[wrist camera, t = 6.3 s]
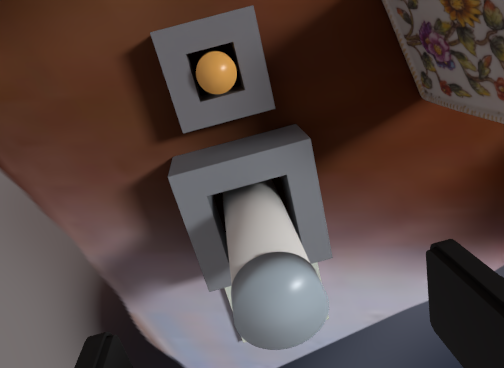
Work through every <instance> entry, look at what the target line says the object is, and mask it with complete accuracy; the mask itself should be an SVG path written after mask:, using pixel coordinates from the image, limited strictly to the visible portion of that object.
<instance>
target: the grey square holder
mask: <svg viewBox="0 0 504 368" xmlns="http://www.w3.org/2000/svg"><path fill="white" fill-rule="evenodd" d="M276 177H281V181H282V185H283V190H284V194H285V198H286V203H287V207H288V212H289V216H290V217H289V218H290V220H291V222H292V224H293V226H294V229H295V231H296V233H297V235H298V237H299V239H300V242H301V244H302V246H303V248H304V250H305V253H306V255H307V257H308V259H309V261H310V263H311V264H312V263H316V262H320V261H323V260H327V259H331V258H332V252H331V247H330V241H329V236H328V231H327V225H326V220H325V214H324V209H323V203H322V198H321V192H320V187H319V182H318V176H317V171H316V165H315V160H314V154H313V149H312V143H311V138H310V137H309V136H308V135H307V134H306V133H305V132H304V131H303V130H302V129H300V128H299V127H298V126H297V125H296V124H294V125H290V126H286V127H283V128H279V129H275V130H271V131H268V132H264V133H260V134H257V135H253V136H249V137H245V138H242V139H238V140H234V141H231V142H227V143H223V144H219V145H216V146H212V147H208V148H205V149H201V150H197V151H194V152H190V153H186V154H182V155H179V156H175V157H173V159H172V162H171V166H170V170H169V174H168V179H169V182H170V185H171V188H172V190H173V193H174V196H175V199H176V201H177V204H178V207H179V210H180V212H181V215H182V218H183V221H184V223H185V226H186V229H187V232H188V235H189V237H190V240H191V243H192V246H193V248H194V251H195V254H196V257H197V259H198V262H199V265H200V268H201V270H202V273H203V276H204V279H205V281H206V284H207V287H208V290H209V292H211V291H215V290H218V289H222V288H226V287H229V286H232V283H231V274H230V264H229V255H228V246H227V236H226V234H225V231H224V228H223V225H222V222H221V219H220V215H219V212H218V209H217V206H216V203H215V200H214V196H213V194H217V193H221V192H224V191H228V190H232V189H235V188H239V187H243V186H246V185H250V184H254V183H258V182H261V181H265V180H269V179H272V178H276Z"/></svg>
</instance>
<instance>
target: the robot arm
mask: <svg viewBox="0 0 504 368" xmlns="http://www.w3.org/2000/svg"><path fill="white" fill-rule="evenodd" d="M426 263H427V280H428V296H429V311H430V322H431V325H432V327H433V329H434V331H435V332H436V334H437V335H438V336H439V338H440V339H441V340H442V341H443V343H444V344H445V345H446V346H447V348H448V349H449V350H450V351H451V352H452V354H453V355H454V356H455V357H456V359H457V360H458V361H459V362H460V364H461V365H462V366H463V367H464V368H504V278H503V277H502V276H500V275H498V274H497V273H496V272H494V271H493V270H492V269H491V268H489V267H488V266H487V265H486V264H484V263H483V262H482V261H480V260H479V259H478V258H477V257H475V256H474V255H473V254H471V253H470V252H469V251H468V250H466V249H465V248H464V247H463V246H461V245H460V244H459V243H457V242H456V241H455V240H453V239H448V240H445V241H441V242H437V243H434V244H432V245H431V247H430V250H428V251H427V252H426ZM75 368H133V366H132V364H131V362H130V360H129V358H128V356H127V354H126V352H125V350H124V347H123V345H122V343H121V341H120V339H119V337H118V336H117V335H113V336H112V334H111V333H110V332H104V333H101V334H97V335H94V336H90V337H88V338H87V339H86V341H85V343H84V346H83V348H82V351H81V353H80V355H79V358H78V360H77V363H76V365H75Z"/></svg>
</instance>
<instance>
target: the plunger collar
mask: <svg viewBox="0 0 504 368" xmlns="http://www.w3.org/2000/svg"><path fill="white" fill-rule="evenodd" d="M150 34H151V37H152V40H153V43H154V46H155V49H156V52H157V56H158V59H159V62H160V65H161V68H162V71H163V74H164V77H165V80H166V83H167V86H168V89H169V92H170V95H171V98H172V101H173V104H174V107H175V111H176V114H177V117H178V120H179V123H180V126H181V129H182V132H183V133H187V132H190V131H194V130H198V129H202V128H205V127H209V126H213V125H216V124H220V123H224V122H228V121H231V120H235V119H239V118H243V117H246V116H250V115H254V114H257V113H261V112H265V111H269V110H272V109H276V108H275V104H274V99H273V95H272V90H271V85H270V81H269V76H268V71H267V67H266V62H265V58H264V53H263V48H262V44H261V39H260V34H259V30H258V25H257V21H256V16H255V11H254V7H253V6H249V7H245V8H241V9H238V10H234V11H230V12H226V13H222V14H219V15H215V16H211V17H207V18H203V19H200V20H196V21H192V22H188V23H184V24H181V25H177V26H173V27H169V28H165V29H162V30H158V31H154V32H150ZM230 42H231V44H232V48H233V52H234V57H235V61H236V65H237V69H238V73H239V77H240V81H241V86H237V87H233V88H231V89H230V90H229V91H227V92H225V93H223V94H207V95H203V96H200V93H199V89H198V86H197V83H196V79H195V76H194V72H193V69H192V66H191V62H190V59H189V55H188V54H189V53H193V52H196V51H200V50H204V49H208V48H212V47H215V46H219V45H223V44H227V43H230Z"/></svg>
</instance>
